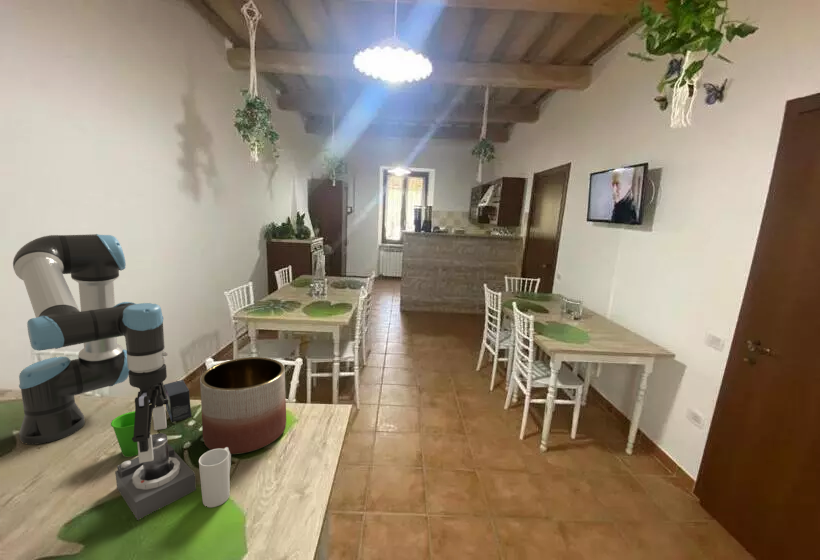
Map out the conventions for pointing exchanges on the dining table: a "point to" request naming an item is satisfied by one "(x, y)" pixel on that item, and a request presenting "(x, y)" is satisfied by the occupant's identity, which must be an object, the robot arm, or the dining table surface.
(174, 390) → the small box
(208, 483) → the mug
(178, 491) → the camera body
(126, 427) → the cup
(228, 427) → the planter
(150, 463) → the lens
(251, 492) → the dining table surface
